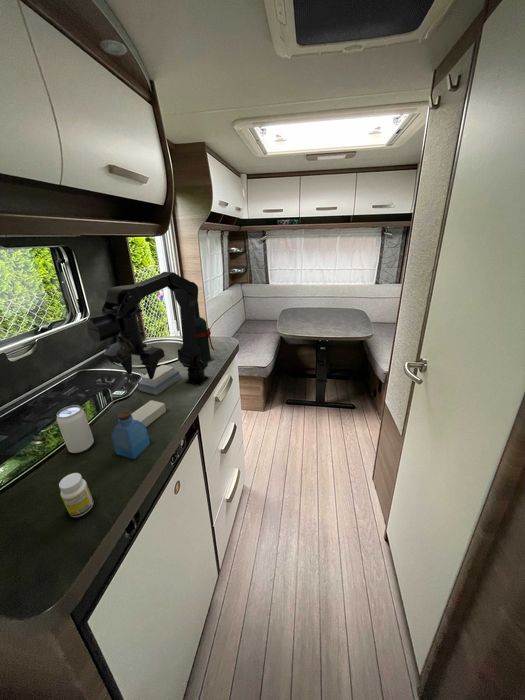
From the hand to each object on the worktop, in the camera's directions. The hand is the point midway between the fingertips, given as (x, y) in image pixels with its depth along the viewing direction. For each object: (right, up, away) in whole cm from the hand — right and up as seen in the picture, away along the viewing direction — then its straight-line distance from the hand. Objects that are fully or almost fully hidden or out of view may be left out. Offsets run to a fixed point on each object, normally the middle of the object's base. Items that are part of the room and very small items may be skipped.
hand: (140, 376), depth 89 cm
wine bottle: (+12, +4, +43) cm, 45 cm away
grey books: (-2, -5, +23) cm, 23 cm away
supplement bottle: (-1, -27, -27) cm, 38 cm away
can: (-13, -19, -9) cm, 25 cm away
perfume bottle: (+3, -20, -11) cm, 22 cm away
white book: (-2, -2, +21) cm, 21 cm away
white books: (+1, -14, +2) cm, 14 cm away
